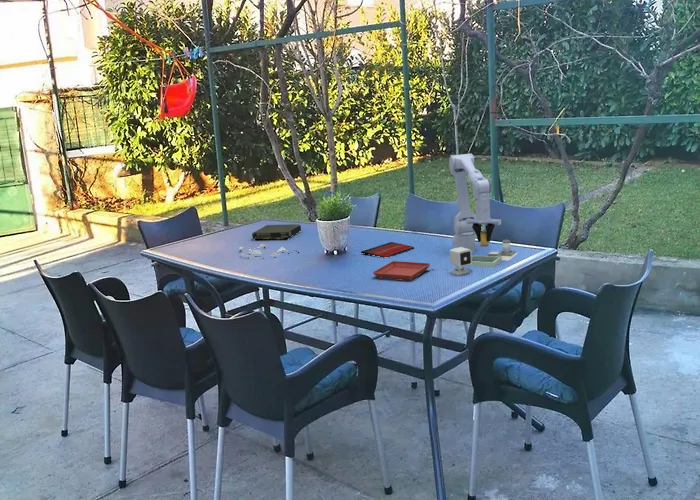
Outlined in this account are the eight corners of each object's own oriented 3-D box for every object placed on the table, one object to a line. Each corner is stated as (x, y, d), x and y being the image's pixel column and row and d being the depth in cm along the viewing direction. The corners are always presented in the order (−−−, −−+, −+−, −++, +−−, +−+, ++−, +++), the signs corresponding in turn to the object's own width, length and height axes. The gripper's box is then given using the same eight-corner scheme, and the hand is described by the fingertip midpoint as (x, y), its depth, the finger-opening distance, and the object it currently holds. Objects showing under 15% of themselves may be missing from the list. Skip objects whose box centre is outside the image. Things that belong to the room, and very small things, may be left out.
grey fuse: (501, 255, 298) (501, 241, 296) (504, 253, 301) (503, 239, 299) (509, 255, 296) (508, 241, 295) (511, 253, 299) (511, 239, 298)
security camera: (459, 276, 276) (458, 252, 274) (449, 273, 282) (448, 249, 280) (472, 273, 279) (471, 249, 276) (462, 270, 285) (461, 246, 283)
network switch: (250, 242, 376) (249, 233, 375) (263, 233, 399) (262, 224, 398) (292, 240, 372) (291, 231, 371) (302, 231, 395) (301, 222, 393)
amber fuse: (479, 246, 287) (478, 232, 286) (482, 244, 290) (481, 230, 288) (487, 246, 285) (486, 232, 284) (489, 244, 288) (489, 230, 287)
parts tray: (463, 268, 287) (463, 261, 286) (472, 262, 295) (472, 255, 295) (494, 270, 280) (494, 262, 280) (502, 263, 289) (501, 256, 288)
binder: (360, 250, 326) (390, 241, 340) (360, 255, 326) (390, 245, 340) (386, 256, 314) (415, 246, 329) (386, 261, 315) (416, 250, 329)
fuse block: (481, 261, 294) (480, 256, 294) (491, 254, 305) (491, 249, 305) (508, 263, 288) (508, 258, 288) (518, 255, 299) (517, 250, 299)
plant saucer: (411, 283, 274) (411, 275, 273) (372, 279, 284) (371, 272, 283) (431, 271, 289) (431, 263, 288) (393, 268, 298) (392, 260, 298)
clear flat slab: (305, 252, 343) (304, 245, 343) (266, 263, 328) (265, 256, 327) (262, 245, 368) (262, 238, 368) (224, 255, 353) (224, 248, 352)
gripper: (462, 210, 284) (464, 243, 287) (496, 211, 277) (498, 244, 280) (468, 207, 290) (470, 239, 293) (502, 207, 283) (503, 240, 286)
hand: (484, 241), depth 287 cm, fingers closed on amber fuse, 3 cm apart
